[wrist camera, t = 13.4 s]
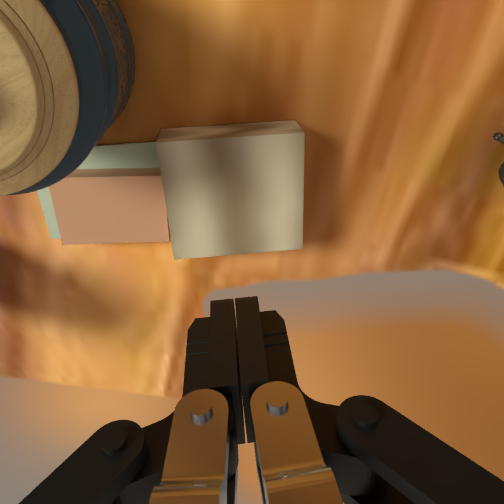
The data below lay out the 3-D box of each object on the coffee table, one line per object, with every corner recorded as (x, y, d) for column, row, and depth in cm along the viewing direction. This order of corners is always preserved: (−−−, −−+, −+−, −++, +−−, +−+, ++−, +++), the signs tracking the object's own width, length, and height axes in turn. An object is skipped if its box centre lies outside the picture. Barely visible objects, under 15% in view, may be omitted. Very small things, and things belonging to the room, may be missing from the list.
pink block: (165, 167, 36) (163, 175, 35) (170, 230, 39) (169, 241, 38) (54, 169, 36) (46, 177, 34) (68, 234, 39) (62, 244, 37)
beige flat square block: (295, 119, 36) (304, 132, 32) (294, 228, 41) (302, 248, 37) (160, 128, 35) (156, 142, 32) (177, 237, 40) (174, 259, 37)
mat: (162, 141, 35) (162, 142, 35) (175, 227, 40) (175, 229, 39) (25, 150, 35) (24, 151, 35) (52, 237, 39) (51, 239, 39)
